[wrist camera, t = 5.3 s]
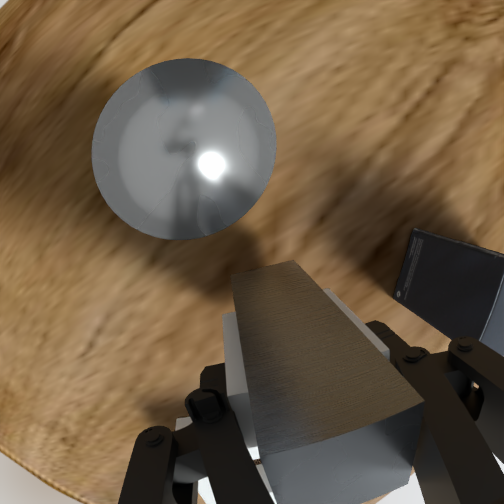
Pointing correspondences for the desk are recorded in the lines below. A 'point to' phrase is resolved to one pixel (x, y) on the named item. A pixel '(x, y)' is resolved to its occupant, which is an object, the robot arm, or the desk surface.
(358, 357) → the square bit
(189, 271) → the desk surface
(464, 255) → the small box
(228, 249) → the desk surface
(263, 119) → the round bit
